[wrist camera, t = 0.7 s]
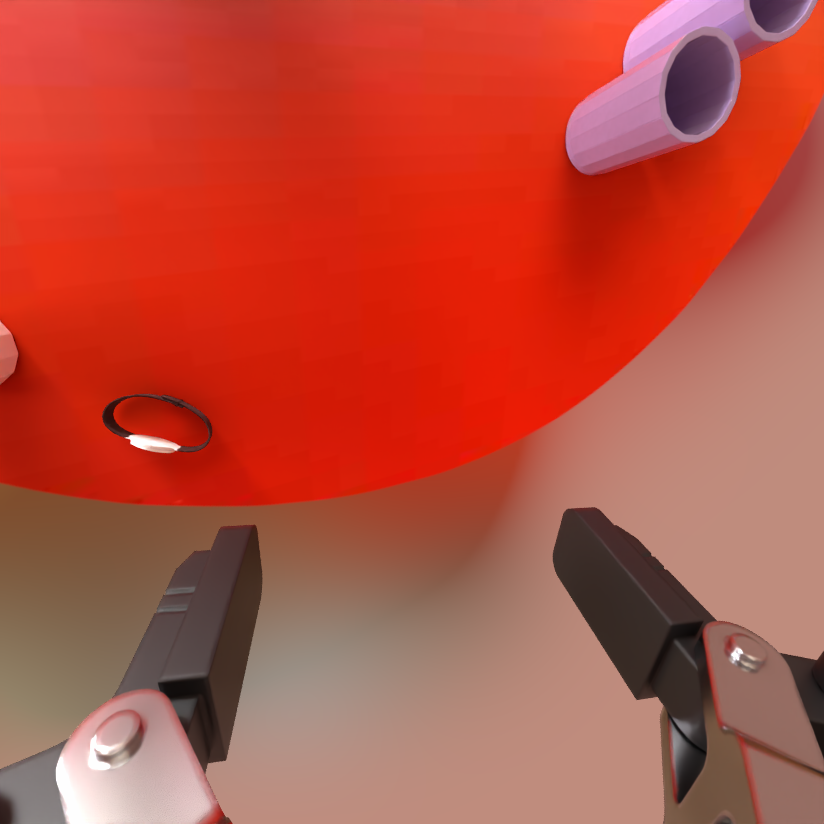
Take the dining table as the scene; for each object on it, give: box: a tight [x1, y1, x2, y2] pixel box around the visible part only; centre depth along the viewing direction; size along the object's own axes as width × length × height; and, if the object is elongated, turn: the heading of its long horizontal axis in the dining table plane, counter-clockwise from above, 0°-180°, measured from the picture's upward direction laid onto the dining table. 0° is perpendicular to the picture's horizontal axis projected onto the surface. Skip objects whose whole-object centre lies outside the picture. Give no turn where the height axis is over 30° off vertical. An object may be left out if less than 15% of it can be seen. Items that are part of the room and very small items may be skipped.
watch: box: [102, 394, 212, 453], centre depth 32 cm, size 8×5×4 cm, turn 67°
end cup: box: [565, 26, 741, 175], centre depth 29 cm, size 6×6×10 cm
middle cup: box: [623, 0, 818, 73], centre depth 28 cm, size 6×6×10 cm
